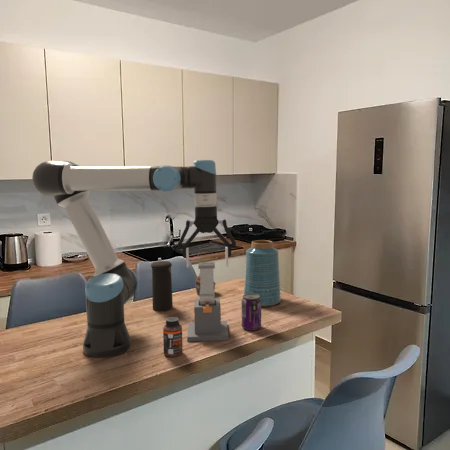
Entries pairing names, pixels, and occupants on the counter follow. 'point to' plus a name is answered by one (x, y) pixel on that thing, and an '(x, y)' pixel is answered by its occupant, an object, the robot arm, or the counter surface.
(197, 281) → the cupcake
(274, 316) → the counter surface
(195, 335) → the stand
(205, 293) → the column
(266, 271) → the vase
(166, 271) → the container
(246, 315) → the beverage can
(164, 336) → the supplement bottle
